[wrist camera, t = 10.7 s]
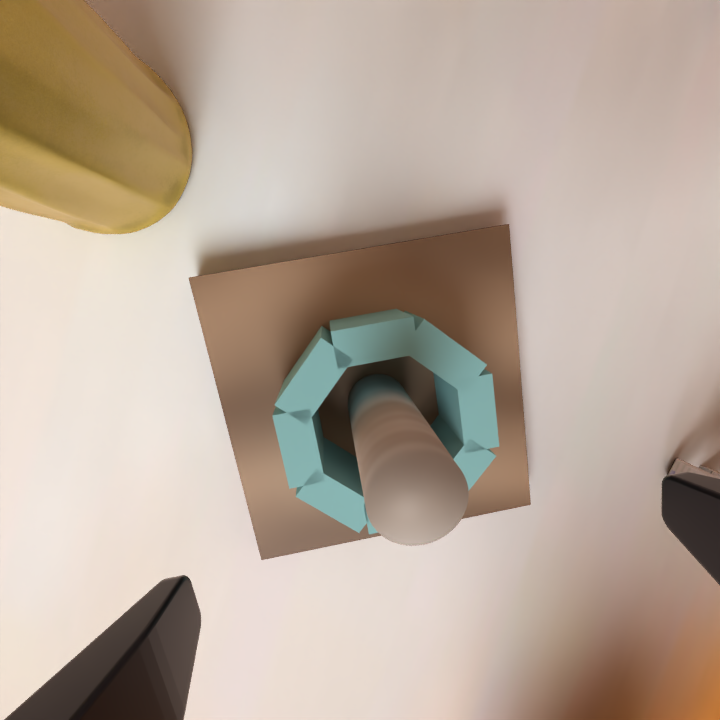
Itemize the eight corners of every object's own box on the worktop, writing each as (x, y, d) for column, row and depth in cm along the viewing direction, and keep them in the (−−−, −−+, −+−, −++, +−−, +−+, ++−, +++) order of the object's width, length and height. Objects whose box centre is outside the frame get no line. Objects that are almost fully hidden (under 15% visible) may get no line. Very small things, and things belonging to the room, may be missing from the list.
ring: (473, 465, 17) (505, 505, 14) (307, 499, 16) (303, 548, 13) (454, 298, 15) (485, 303, 12) (269, 331, 15) (255, 345, 12)
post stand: (519, 492, 18) (663, 651, 11) (264, 544, 18) (218, 754, 10) (497, 227, 16) (667, 179, 8) (197, 277, 15) (62, 279, 7)
